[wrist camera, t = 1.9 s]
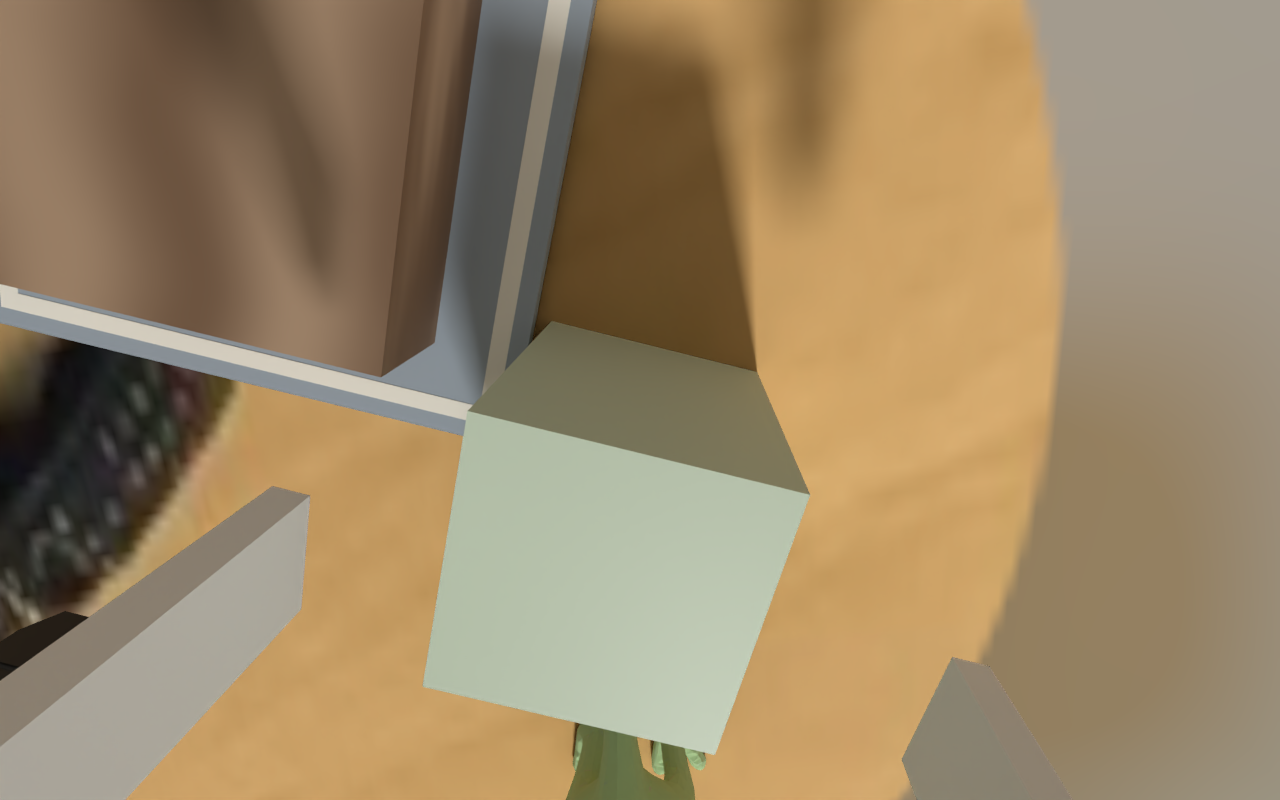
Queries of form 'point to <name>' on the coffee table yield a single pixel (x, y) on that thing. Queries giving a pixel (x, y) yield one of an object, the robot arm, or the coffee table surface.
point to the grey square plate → (477, 251)
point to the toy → (629, 768)
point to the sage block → (614, 538)
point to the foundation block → (239, 165)
